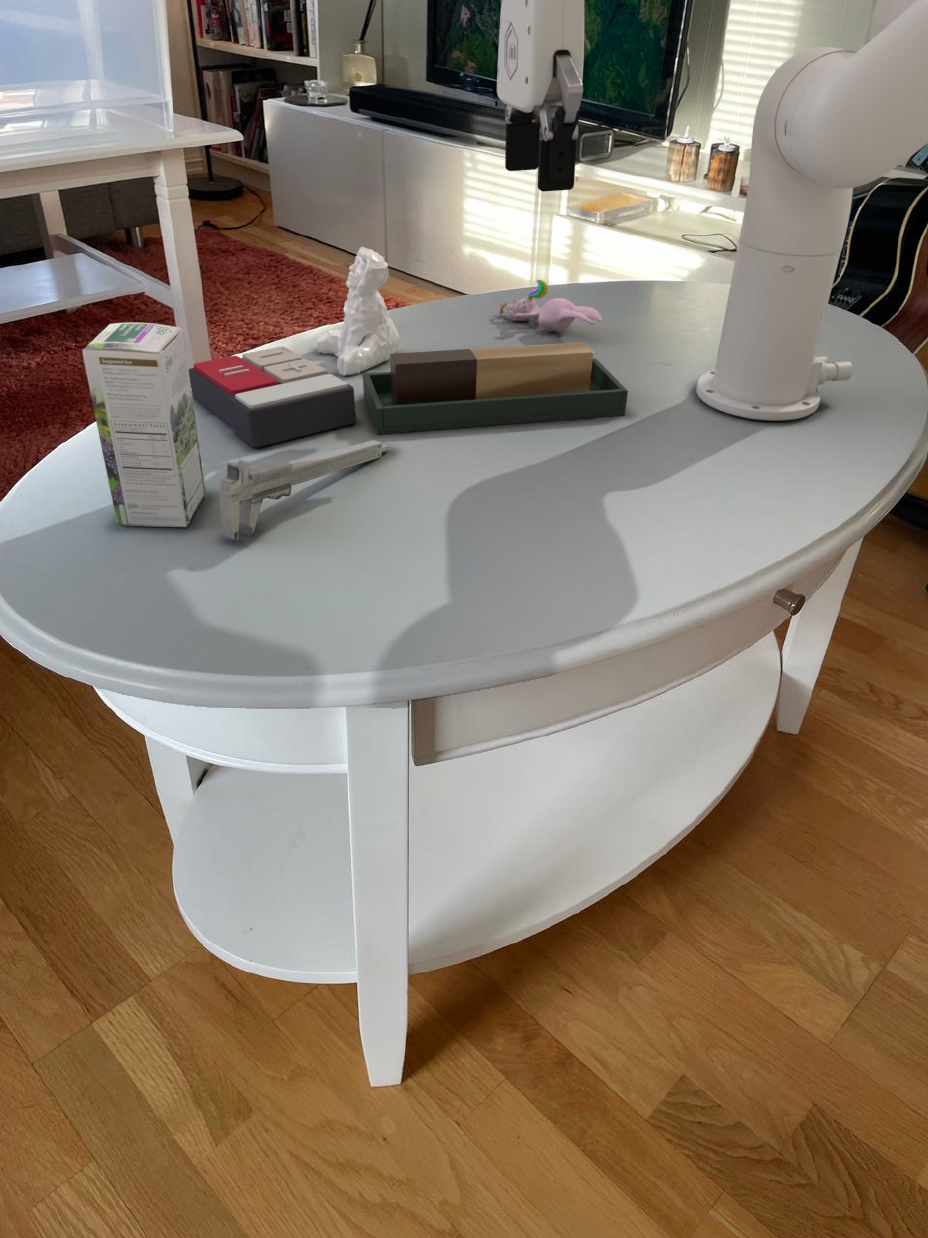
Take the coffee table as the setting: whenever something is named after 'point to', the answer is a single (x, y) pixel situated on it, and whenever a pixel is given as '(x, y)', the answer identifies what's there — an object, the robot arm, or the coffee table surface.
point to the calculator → (272, 395)
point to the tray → (493, 406)
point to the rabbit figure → (548, 310)
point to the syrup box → (146, 423)
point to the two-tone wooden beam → (490, 373)
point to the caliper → (280, 482)
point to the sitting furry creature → (363, 319)
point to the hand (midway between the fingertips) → (537, 179)
